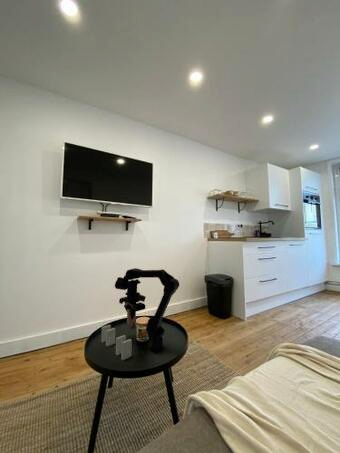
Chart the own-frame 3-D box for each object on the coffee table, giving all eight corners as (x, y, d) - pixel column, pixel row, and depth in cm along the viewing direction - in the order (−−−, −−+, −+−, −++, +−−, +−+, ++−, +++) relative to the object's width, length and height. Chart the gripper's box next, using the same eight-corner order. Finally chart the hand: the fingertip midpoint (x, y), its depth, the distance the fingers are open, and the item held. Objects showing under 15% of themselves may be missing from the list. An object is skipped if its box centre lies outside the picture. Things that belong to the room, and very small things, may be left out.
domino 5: (135, 321, 117) (135, 307, 118) (128, 324, 114) (128, 309, 114) (134, 321, 119) (134, 307, 119) (126, 323, 115) (127, 309, 116)
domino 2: (115, 343, 114) (115, 328, 115) (107, 346, 111) (107, 331, 111) (113, 342, 115) (114, 327, 116) (105, 345, 112) (106, 330, 112)
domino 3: (125, 351, 106) (125, 336, 107) (117, 355, 103) (117, 339, 103) (124, 350, 107) (124, 334, 108) (115, 354, 104) (116, 337, 104)
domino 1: (110, 339, 118) (110, 325, 119) (102, 342, 115) (102, 328, 115) (109, 338, 119) (109, 324, 120) (101, 341, 116) (101, 327, 116)
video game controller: (145, 330, 133) (147, 318, 137) (143, 330, 130) (145, 318, 133) (131, 328, 136) (133, 317, 139) (128, 327, 132) (131, 316, 136)
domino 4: (131, 356, 102) (131, 340, 103) (122, 360, 99) (123, 343, 99) (129, 354, 103) (129, 338, 104) (121, 358, 100) (121, 342, 100)
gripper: (153, 291, 116) (152, 319, 115) (134, 285, 129) (134, 310, 129) (136, 295, 108) (136, 325, 108) (119, 288, 122) (118, 315, 121)
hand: (131, 318), depth 116 cm, fingers closed on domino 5, 2 cm apart
